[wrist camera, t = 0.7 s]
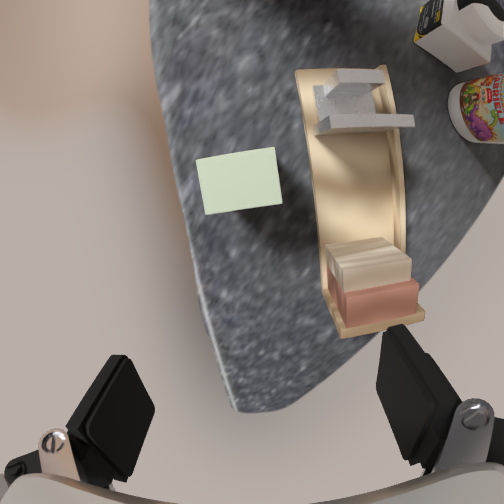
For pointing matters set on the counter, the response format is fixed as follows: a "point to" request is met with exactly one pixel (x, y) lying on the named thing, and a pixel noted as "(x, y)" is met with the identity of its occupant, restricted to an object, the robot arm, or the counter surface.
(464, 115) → the milk bottle
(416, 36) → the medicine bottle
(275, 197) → the pale green block
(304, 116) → the panel
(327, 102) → the bookend
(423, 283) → the counter surface
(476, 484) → the robot arm
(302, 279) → the counter surface
